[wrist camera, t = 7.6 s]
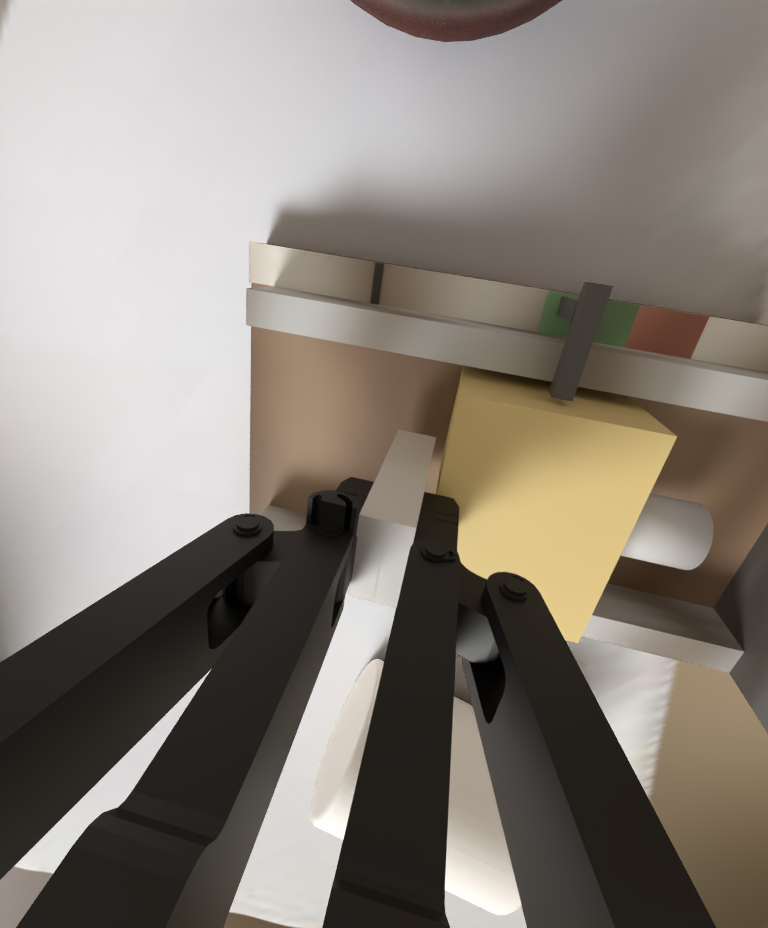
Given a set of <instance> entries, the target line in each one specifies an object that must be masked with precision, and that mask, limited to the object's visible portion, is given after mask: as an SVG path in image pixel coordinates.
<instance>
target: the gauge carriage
mask: <svg viewBox="0 0 768 928" xmlns="http://www.w3.org/2000/svg"><path fill="white" fill-rule="evenodd" d="M612 287H613V286H608V285H602V284H595V283H589V282H584V284H583V287H582V291H581V294H580V297H579V299H577V298H571V297H565V296H562V297H561V301H560V304H559V307H558V310H557V314H556V315H558V316H560V317H562V318H563V319H565V320H567V321H569V322H571V325H570V328H569V331H568V334H567V337H566V340H565V343H564V347H563V350H562V353H561V356H560V359H559V362H558V365H557V368H556V371H555V375H554V378H553V381H552V382H550V381H545V380H540V379H534V378H529V377H523V376H518V375H513V374H507V373H502V372H496V371H491V370H486V369H480V368H475V367H469V366H464V365H463V368H462V372H461V376H460V381H459V385H458V390H457V394H456V399H455V403H454V407H453V412H452V416H451V421H450V425H449V430H448V434H447V439H446V443H445V447H444V452H443V456H442V461H441V465H440V470H439V474H438V479H437V483H436V487H435V492H434V494H436V495H441V496H445V497H450V498H454V500H455V501H456V503H457V504H458V506H459V524H458V544H457V552H458V553H459V557H460V562H461V563H462V564H463V565H464V566H465V567H466V568H467V569H468V570H470V571H471V572H473V573H475V574H477V575H479V576H481V577H483V578H485V579H488V577H489V576H490V575H492V574H494V573H496V572H509V573H514V574H517V575H519V576H521V577H524V578H526V579H527V580H528V581H530V582H531V583H532V584H534V585H535V587H536V588H537V589H538V590H539V592H540V593H541V595H542V597H543V599H544V601H545V603H546V605H547V607H548V609H549V611H550V612H551V614H552V616H553V618H554V620H555V622H556V624H557V626H558V628H559V630H560V632H561V633H562V635H563V637H564V639H565V640H566V641H570V642H574V643H579V641H580V639H581V637H582V635H583V632H584V630H585V628H586V626H587V624H588V622H589V620H590V618H591V616H592V614H593V612H594V609H595V607H596V605H597V603H598V601H599V599H600V597H601V595H602V593H603V591H604V589H605V586H606V584H607V582H608V580H609V578H610V576H611V574H612V572H613V570H614V568H615V566H616V564H617V561H618V559H619V557H620V555H621V556H625V557H629V558H634V559H638V560H643V561H647V562H652V563H656V564H661V565H665V566H670V567H674V568H678V569H683V570H692V569H694V568H696V567H698V566H699V565H700V564H701V563H702V562H703V561H704V559H705V558H706V556H707V554H708V553H709V550H710V548H711V544H712V540H713V521H712V517H711V515H710V512H709V511H708V509H707V508H706V507H705V506H704V505H702V504H700V503H696V502H691V501H686V500H682V499H677V498H672V497H667V496H662V495H658V494H653V493H651V490H652V488H653V486H654V484H655V482H656V480H657V478H658V476H659V474H660V472H661V470H662V467H663V465H664V463H665V461H666V459H667V457H668V455H669V453H670V451H671V449H672V447H673V445H674V442H675V440H676V438H677V436H676V435H675V434H674V433H672V432H671V431H670V430H669V429H668V428H666V427H665V426H664V425H663V424H661V423H660V422H659V421H658V420H657V419H655V418H654V417H653V416H652V415H650V414H649V413H648V412H647V411H646V410H644V409H643V408H642V407H641V406H639V405H638V404H637V403H636V402H635V401H633V400H632V399H631V398H630V397H628V396H626V395H621V394H615V393H610V392H604V391H599V390H594V389H588V388H583V387H578V384H579V381H580V378H581V375H582V373H583V370H584V367H585V364H586V361H587V358H588V355H589V353H590V350H591V347H592V344H593V341H594V338H595V335H596V332H597V330H598V327H599V324H600V321H601V318H602V315H603V312H604V310H605V307H606V304H607V301H608V298H609V295H610V292H611V290H612Z"/></svg>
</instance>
